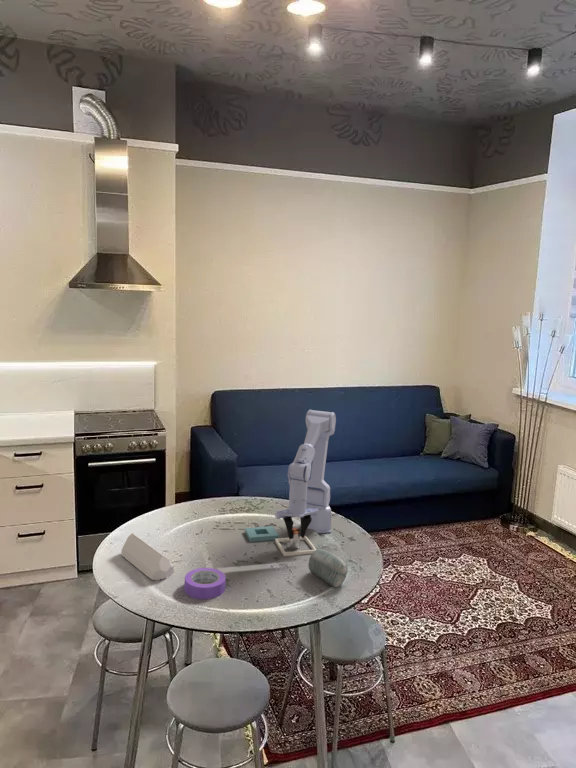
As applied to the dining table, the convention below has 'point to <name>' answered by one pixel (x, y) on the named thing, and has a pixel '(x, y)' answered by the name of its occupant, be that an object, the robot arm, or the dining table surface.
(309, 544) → the tray
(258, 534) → the teal socket block
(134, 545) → the crystal
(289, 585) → the dining table surface
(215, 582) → the masking tape
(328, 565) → the grey green streaked cylinder
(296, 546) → the copper-capped cylinder
